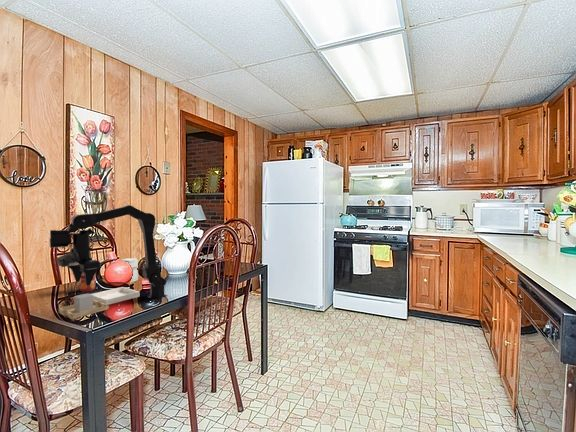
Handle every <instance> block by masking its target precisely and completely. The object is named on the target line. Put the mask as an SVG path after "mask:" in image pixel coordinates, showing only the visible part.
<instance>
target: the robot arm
mask: <svg viewBox="0 0 576 432" xmlns="http://www.w3.org/2000/svg"><path fill="white" fill-rule="evenodd" d="M127 215H128V216H130V217H131V218H134V219H135V220H137V221H138V224H139V227H140V229H141V233H142V239H143V247H144V255H145V266H142V267H141V270H142V277H143V278H144V279H145V280H146V281H148V283H149V292H150V293H149V295H148V296H147V298H148V299H152V300H159V299H161V298H162V299H163V298H166V297H168V295H167V294H165V286H166V284H167V279H165V278H164V277H162V275H161V271H160V268H159V266H158V263H157V257H156V249H155V248H156V247H155V239H154V237H155V236H154V230H155V227H156V216H155V215H154V214H153V213H150V212H146V211H145V212H144V211H142V210H140V209H138V208H135V207H134V206H133V205H130V204H129V205H124V206H121V207H118V208H112V209H108V210H105V211H104V210H103V211H100V212H95V213H83V214H82V213H81V214H76V215H74V216H73V217H72V219H71V224H70V225H68V227H67V228H66V229H61V230H60V229H58V230H56V229H52V230H50V234H49V248H50V249H54V248H65V247H67V248H68V247H69V245H71V244H72V247H70V252H68V253H65V254H63V255H60V256H58V257H57V258H55V261H56V263H57V265H58V267H62V268H65V267H66V268H68V269H70V270H71V272H72V275H73V277H74V280H75V282H76V283H79V281H80V278H81V275H82V272H83V273H84V276H85V282H86V285H90V283H91V281H92V279H93V277H94V275H95V273H96V274H97V271H98V270H99V269H100V268H101V267H102V266H101V265H102V264H101V263H102V262H101V261H99V260H97V259H94V260H92V258H93V257H92V256H91V251H92V250H93V247H91V246H90V245H91V244H90V243H91V241H90V236H91V235H95V234H96V232H95V231H93V229H92V228H91V227H93V226H94V225H96V224H98V223H100V222H104V221H108V220H109V221H110V220H113V219H115V218H116V219H117V218H120V217H123V216H127ZM87 228H88V229H87Z"/></svg>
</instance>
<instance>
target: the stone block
mask: <svg viewBox="0 0 576 432" xmlns="http://www.w3.org/2000/svg"><path fill="white" fill-rule="evenodd" d="M91 294H92V293H88V292H87V293H83V294H78V295H74V296H73V304H74V308H75V311H76V312H78V313H79V312H83V311H87V310H91V309H94V308H93V295H91Z"/></svg>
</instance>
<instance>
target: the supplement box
mask: <svg viewBox="0 0 576 432" xmlns="http://www.w3.org/2000/svg"><path fill="white" fill-rule="evenodd" d="M121 260H122V261H125V262H128V263H129V264H130V265H131V267H132V269H133V276H132V279H131V281H130V283H129V284H131V283H133V282H136V281H139V269H138V270H137V268H138V267H139V265H138V262H139V261H138V258H136V257H135V258H134V257H133V258H131V257H127V258H122V259H121Z"/></svg>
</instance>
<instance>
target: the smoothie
mask: <svg viewBox="0 0 576 432" xmlns="http://www.w3.org/2000/svg"><path fill="white" fill-rule="evenodd" d="M92 260H95V259H94V258H93V257H92ZM95 276H96V277H97V272H96V273H95V275H94V277H93V279H92V281H91V283H90V285H86V282H85V276H84V273H83V272H82V275H81V278H80V281H79V282H78V287H79V290H80V292H82V293H83V292H84V293H86V292H87V293H88V292H92V291H94V290H95V288H96V283H97V281H96V282H95Z"/></svg>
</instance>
